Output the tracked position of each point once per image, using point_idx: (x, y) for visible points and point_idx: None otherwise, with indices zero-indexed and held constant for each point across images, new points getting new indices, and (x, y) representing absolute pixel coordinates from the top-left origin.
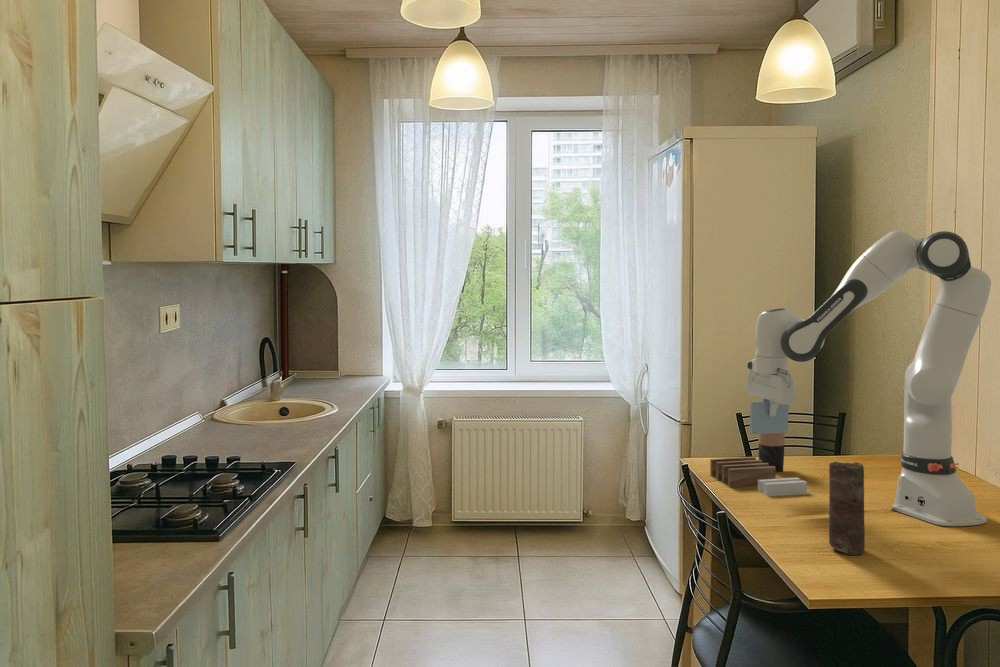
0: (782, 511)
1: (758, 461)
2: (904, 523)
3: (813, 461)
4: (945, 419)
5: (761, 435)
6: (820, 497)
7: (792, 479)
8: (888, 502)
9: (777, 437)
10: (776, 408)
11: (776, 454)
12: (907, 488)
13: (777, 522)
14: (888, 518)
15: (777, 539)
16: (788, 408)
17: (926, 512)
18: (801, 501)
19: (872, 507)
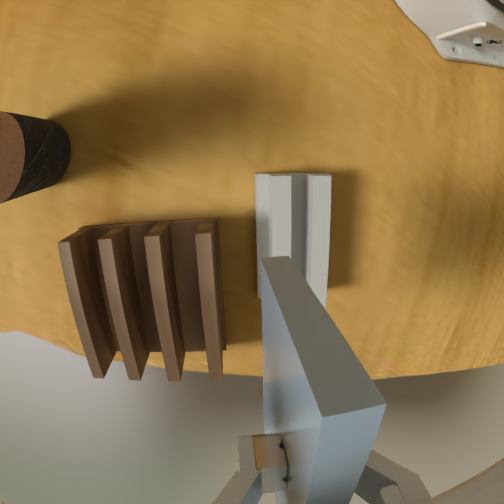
0: (404, 292)
1: (114, 252)
2: (500, 107)
3: (2, 20)
4: None
5: None
6: (335, 142)
7: (290, 204)
8: (396, 21)
9: (3, 151)
10: (383, 460)
11: (41, 152)
12: (483, 32)
13: (443, 325)
14: (480, 110)
15: (484, 346)
16: (350, 347)
17: (490, 47)
18: (356, 213)
19: (425, 80)
